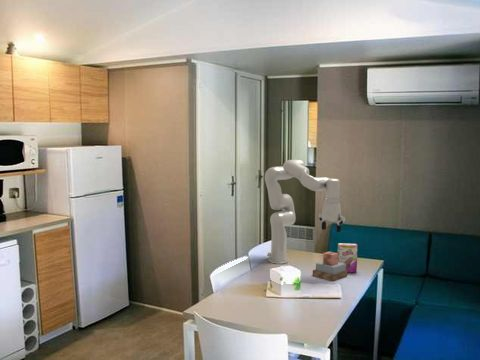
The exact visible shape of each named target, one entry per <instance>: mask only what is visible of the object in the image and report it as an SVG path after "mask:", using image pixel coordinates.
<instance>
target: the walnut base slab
mask: <svg viewBox="0 0 480 360" xmlns="http://www.w3.org/2000/svg"><path fill="white" fill-rule="evenodd" d="M312 277H315V278H319V279H322V280H323V279H324V280H328V281H330V282H335V281H338V280H341V279H343V278H346V277H348V272H347V270H346V271H343V272H340V273H337V274H334V275H333V274H329V273H325V272H321V271H317V270H316V268H315V269H313V270H312Z"/></svg>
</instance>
